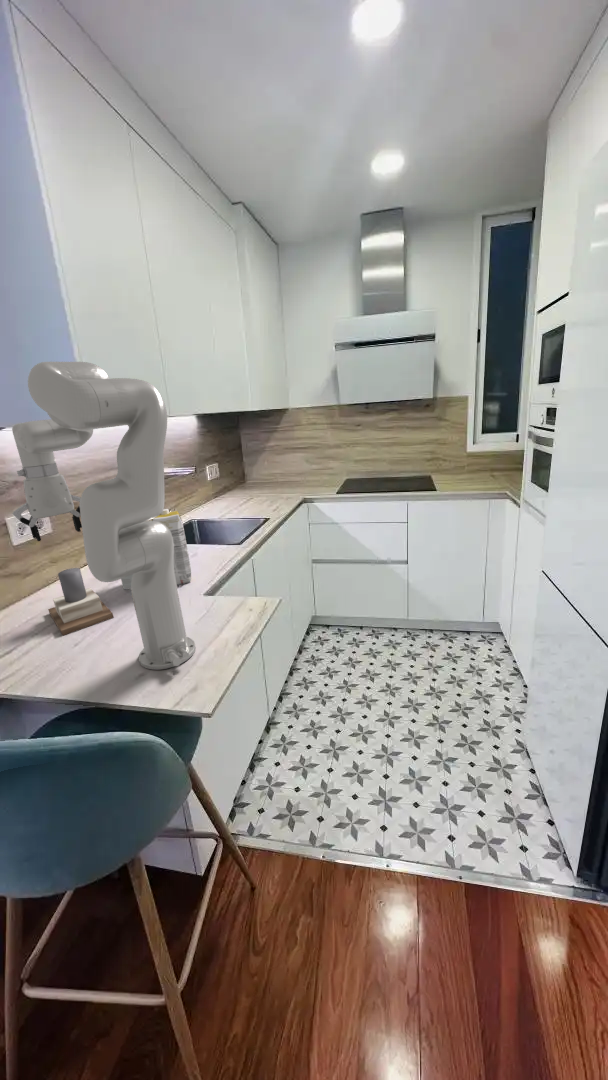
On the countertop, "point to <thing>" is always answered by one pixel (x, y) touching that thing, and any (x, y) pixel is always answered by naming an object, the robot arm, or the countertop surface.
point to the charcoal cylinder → (72, 585)
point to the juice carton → (177, 545)
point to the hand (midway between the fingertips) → (59, 535)
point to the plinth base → (81, 620)
